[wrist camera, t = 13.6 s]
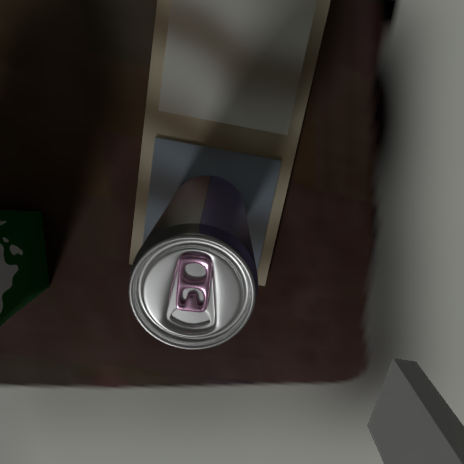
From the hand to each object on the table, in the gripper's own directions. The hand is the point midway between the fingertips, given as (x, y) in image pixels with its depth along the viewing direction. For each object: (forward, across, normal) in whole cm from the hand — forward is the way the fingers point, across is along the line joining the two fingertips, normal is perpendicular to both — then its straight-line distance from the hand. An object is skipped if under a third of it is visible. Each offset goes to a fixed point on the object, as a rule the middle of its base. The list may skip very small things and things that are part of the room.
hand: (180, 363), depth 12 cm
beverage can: (+20, 0, 0) cm, 20 cm away
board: (+22, 0, +5) cm, 22 cm away
